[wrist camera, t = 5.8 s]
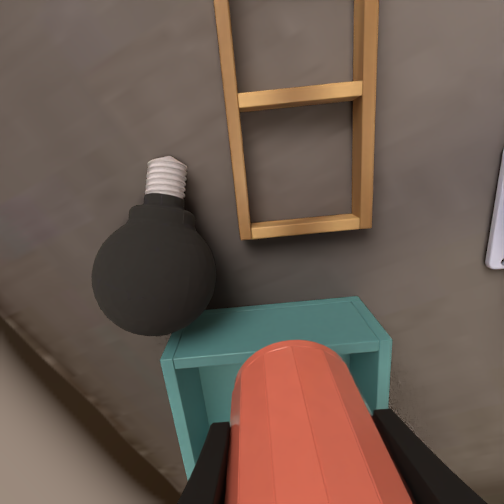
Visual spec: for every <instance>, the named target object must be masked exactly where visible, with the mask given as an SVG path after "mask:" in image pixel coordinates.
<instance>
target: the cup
mask: <svg viewBox="0 0 504 504" xmlns="http://www.w3.org/2000/svg"><path fill="white" fill-rule="evenodd" d="M224 504H416V502H415V500H414V498H413V496H412V494H411V492H410V490H409V488H408V486H407V484H406V482H405V480H404V478H403V476H402V474H401V472H400V470H399V468H398V466H397V463H396V461H395V459H394V457H393V455H392V453H391V451H390V449H389V447H388V445H387V443H386V441H385V439H384V437H383V435H382V433H381V431H380V429H379V427H378V425H377V423H376V421H375V419H374V417H373V414H372V412H371V410H370V408H369V406H368V404H367V402H366V400H365V398H364V396H363V394H362V392H361V390H360V388H359V386H358V384H357V382H356V380H355V379H354V377H353V375H352V373H351V371H350V369H349V367H348V366H347V364H346V362H345V361H344V360H343V359H342V358H341V357H340V356H339V355H338V354H337V353H336V352H335V351H333V350H331V349H330V348H328V347H326V346H324V345H322V344H319V343H316V342H312V341H307V340H286V341H280V342H277V343H273V344H271V345H268V346H266V347H264V348H262V349H260V350H258V351H257V352H255V353H254V354H253V355H252V356H250V357H249V358H248V359H247V360H246V361H245V363H244V364H243V365H242V367H241V368H240V370H239V371H238V373H237V376H236V378H235V382H234V389H233V392H232V399H231V414H230V435H229V451H228V461H227V473H226V488H225V503H224Z"/></svg>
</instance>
